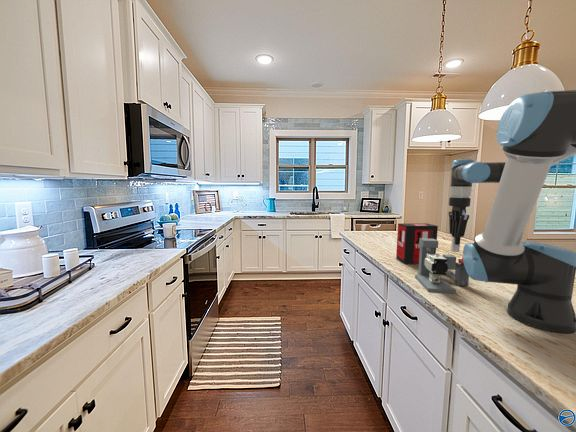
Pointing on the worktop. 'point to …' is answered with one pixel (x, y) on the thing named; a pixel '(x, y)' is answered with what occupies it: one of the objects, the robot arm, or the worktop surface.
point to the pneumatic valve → (435, 266)
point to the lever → (460, 274)
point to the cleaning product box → (413, 240)
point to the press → (423, 272)
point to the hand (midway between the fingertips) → (454, 251)
